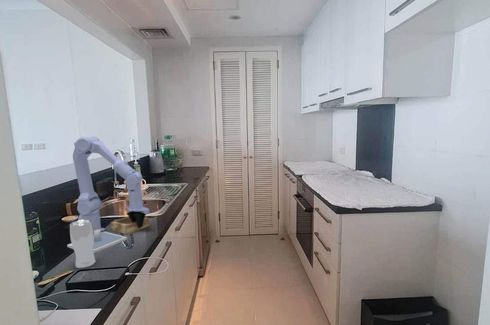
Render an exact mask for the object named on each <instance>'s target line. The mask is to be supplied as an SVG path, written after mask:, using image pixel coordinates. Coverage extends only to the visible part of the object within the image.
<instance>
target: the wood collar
mask: <svg viewBox="0 0 490 325" xmlns="http://www.w3.org/2000/svg"><path fill="white" fill-rule="evenodd" d="M149 225H150V217H146V216H145V218H144V221H143V227H141V228H138V226H137V221H136V222H133V223H132V221H131V219H130V217H129V216H128V215H127V216H126V217H122V218H119V219H116V220H114V221H111V222H110V226H111V227H110V230H111V231H112V232H113V231H114V232H117V233H121V234H125V235H130V234H133V233H135V232H138V231H140V230H143V229H145V228H147V226H148V227H150V226H151V225H150V226H149Z"/></svg>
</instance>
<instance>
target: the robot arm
mask: <svg viewBox="0 0 490 325" xmlns="http://www.w3.org/2000/svg"><path fill="white" fill-rule="evenodd" d="M73 145H74V149H73V152H72V159H73V165H74V169H75V174H76V179H77V184H78V188H79V196H78V198H77V208H76V209H77V212H78V213H79V215H78V218H77V221H79V220H85V219H90V220H92V224H93V229H94V230H97V229H100V232H101V233H102V232H104V231H105V230H106V228H104V227H102V226H101V216H100V208H101V206H102V201H101V199H100V198H99V195H98V193H97V192H96V191H95V190H94V184H93V180H92V179H93V178H92V175H91V171H90V165H89V161H88V160H89V157H90V156H92V154H99V155H100V156H101V157H102V158H104V159H105V160H106V161H108V163H110V164H111V165H112V167H113V170H114V171H115V172H116V173H117V174H118V175H119V176H120V177H121V178H122V179H124V182H125V185H126V186H127V192H128V193H127V195H128V201H129V202H128V203H129V205H126V206H124V211H125V212H126V211H127V213H126V214H127V217H128V216H129V217H130V219H131V221H132V223H133V222H136V221H137V226H138V228H141V227H143V221H144V218H145V217H146V215H147V214H149V213H150V208H147V207H145V206H144V204H143V203H144V202H143V190H142V181H143V175H142V173H141V172H140V171H136V169H133V167H131V166H130V165H129V162H128V161H127V160H122V159H119V158H118V157H117V156H116V155H115V154H114V153H113V152H112V151H111V150H110V149H109V148H108V147H107V146H106V144H105V143H104V142H103V141H102V140H100V138H99V137H97V136H91V137H89V136H87V137H84V136H81V137H79V138H78V139H77V140H76V141H75V142H74V143H73Z"/></svg>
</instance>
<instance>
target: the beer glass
mask: <svg viewBox="0 0 490 325" xmlns="http://www.w3.org/2000/svg"><path fill="white" fill-rule="evenodd" d="M69 236H70V242H71V243H72V246H73V249H72V250H73V251H74V253H75V268H76V269H86V268H88V267H89V268H90V267H91V266H93V265H94V264H96V258H95V253H93V246H94V229H93V224H92V220H90V219H85V220H79V221H78V220H75V221H72V222H71V223H69Z"/></svg>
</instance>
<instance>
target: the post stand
mask: <svg viewBox="0 0 490 325" xmlns="http://www.w3.org/2000/svg"><path fill="white" fill-rule="evenodd" d="M127 240H128V236H125V235H120V234H115V233H112V232H108V231H101V232H100V229H97V230H94V246H93V254H96V253H98V252H100V251H102V250H105V249H107V248H110V247H112V246H115V245H117V244H119V243H122V242H125V241H127ZM66 246H67V248H69V249H72V250H74V249H73V246H72V242H71V243H69V244H67V245H66Z"/></svg>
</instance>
